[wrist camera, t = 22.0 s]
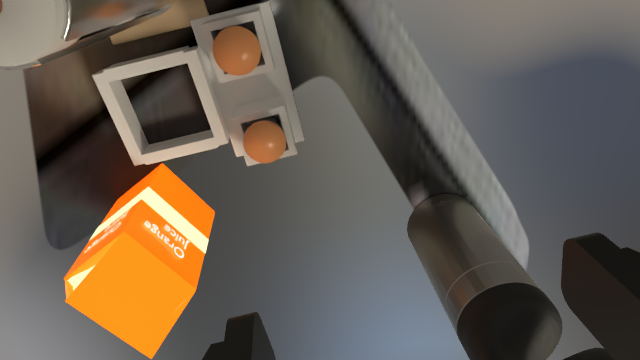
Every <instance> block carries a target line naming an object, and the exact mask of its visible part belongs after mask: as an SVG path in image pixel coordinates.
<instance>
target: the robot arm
mask: <svg viewBox="0 0 640 360" xmlns="http://www.w3.org/2000/svg"><path fill="white" fill-rule="evenodd" d="M407 231H408V236H409V238H410V241H411V243H412V245H413V247H414V249H415V251H416V253H417V255H418V257H419V259H420V261H421V263H422V265H423V267H424V269H425V271H426V273H427V275H428V277H429V279H430V282H431V284H432V286H433V287H434V290H435V291H436V294H437V296H438V298H439V300H440V302H441V304H442V306H443V308H444V310H445V312H446V314H447V315H448V318H449V320H450V322H451V324H452V326H453V328H454V330H455V332H456V334H457V336H458V338H459V340H460V342H461V344H462V346H463V347H464V349H465V351H466V353H467V355H468V357H469V359H470V360H546V359H547V358H548V357H549V356H550V355H551V353H552V352H553V351H554V349H555V348H556V346H557V344H558V342H559V340H560V337H561V334H562V320H561V317H560V314H559V312H558V310H557V309H556V307H555V306H554V305H553V303H552V302H551V301H550V300H549V298H548V297H547V296H546V295H545V294H544V292H543V291H542V290H541V289H540V288H539V286H538V285H537V284H536V283H535V282H534V280H533V279H532V278H531V277H530V276H529V274H528V273H527V272H526V271H525V270H524V268H523V267H522V266H521V265H520V264H519V262H518V261H517V260H516V259H515V257H514V256H513V255H512V254H511V253H510V251H509V250H508V249H507V248H506V247H505V245H504V244H503V243H502V242H501V240H500V239H499V238H498V237H497V236H496V234H495V233H494V232H493V231H492V229H491V228H490V227H489V226H488V225H487V223H486V222H485V221H484V220H483V218H482V217H481V216H480V215H479V214H478V212H477V211H476V210H475V209H474V207H473V206H472V205H471V204H470V203H469V202H468V201H467V200H466V199H465V198H463V197H461V196H458V195H454V194H441V195H436V196H433V197H431V198H429V199H427V200H425V201H424V202H422V203H421V204H420V205H418V206H417V208H416V209H415V210H414V211H413V213H412V214H411V216H410V218H409V221H408V227H407ZM562 259H563V260H562V276H561V289H562V293H563V296H564V299H565V301H566V303H567V304H568V306H569V308H570V309H571V310H572V311H573V313H574V314H575V315H576V316H577V317H578V318H579V319H580V321H581V322H582V323H583V324H584V325H585V326H586V327H587V329H588V330H589V331H590V332H591V333H592V335H593V336H594V337H595V338H596V339H597V340H598V341H599V343H600V344H601V345H602V346H603V347H604V348H605V349H603V348H593V349H588V350H585V351H582V352H580V353H577V354H575V355H572V356H570V357H568V358H565V359H564V360H640V253H639V252H637V251H635V250H632V249H630V248H627V247H626V248H622V249H620V248H619V247H618V246H616V245H615V244H614V243H613V242H612V241H610V240H609V239H608V238H607V237H605V236H604V235H602V234H601V233H592V234H588V235H584V236H579V237H576V238H571V239H567V240H566V241H565V242H564V245H563V258H562ZM202 360H276V359H275V355H274V351H273V349H272V346H271V344H270V341H269V339H268V336H267V333H266V331H265V328H264V326H263V323H262V320H261V318H260V316H259V314H258V313H257V312H254V313H250V314H245V315H242V316H237V317H233V318H229V319H228V321H227V325H226V331H225V339H224V341H223V342H219V343H214V344H211V346H210V347H209V349H208V350H207V352H206V354H205V356H204V357H203V359H202Z"/></svg>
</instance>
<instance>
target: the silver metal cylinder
mask: <svg viewBox="0 0 640 360" xmlns="http://www.w3.org/2000/svg"><path fill="white" fill-rule="evenodd" d="M174 1H175V0H0V68H2V69H7V70H10V69H11V70H12V69H29V68H33V67H36V66H39V65H43V64H45V63H48V62H50V61H52V60H55V59H57V58H60V57H62V56H64V55H67V54H69V53H71V52H74V51H76V50H79V49H81V48H83V47H86V46H88V45H90V44H93V43H95V42H98V41H100V40H102V39H105V38H107V37H109V36H112V35H114V34H117V33H119V32H121V31H124V30H126V29H128V28H131V27H133V26H136V25H138V24H140V23H143V22H145V21H148V20H150V19H152V18H155V17H157V16H159V15H162V14H163V13H165V12H166V11H168V10H169V8H170V7H171V6H172V5H173V3H174Z"/></svg>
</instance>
